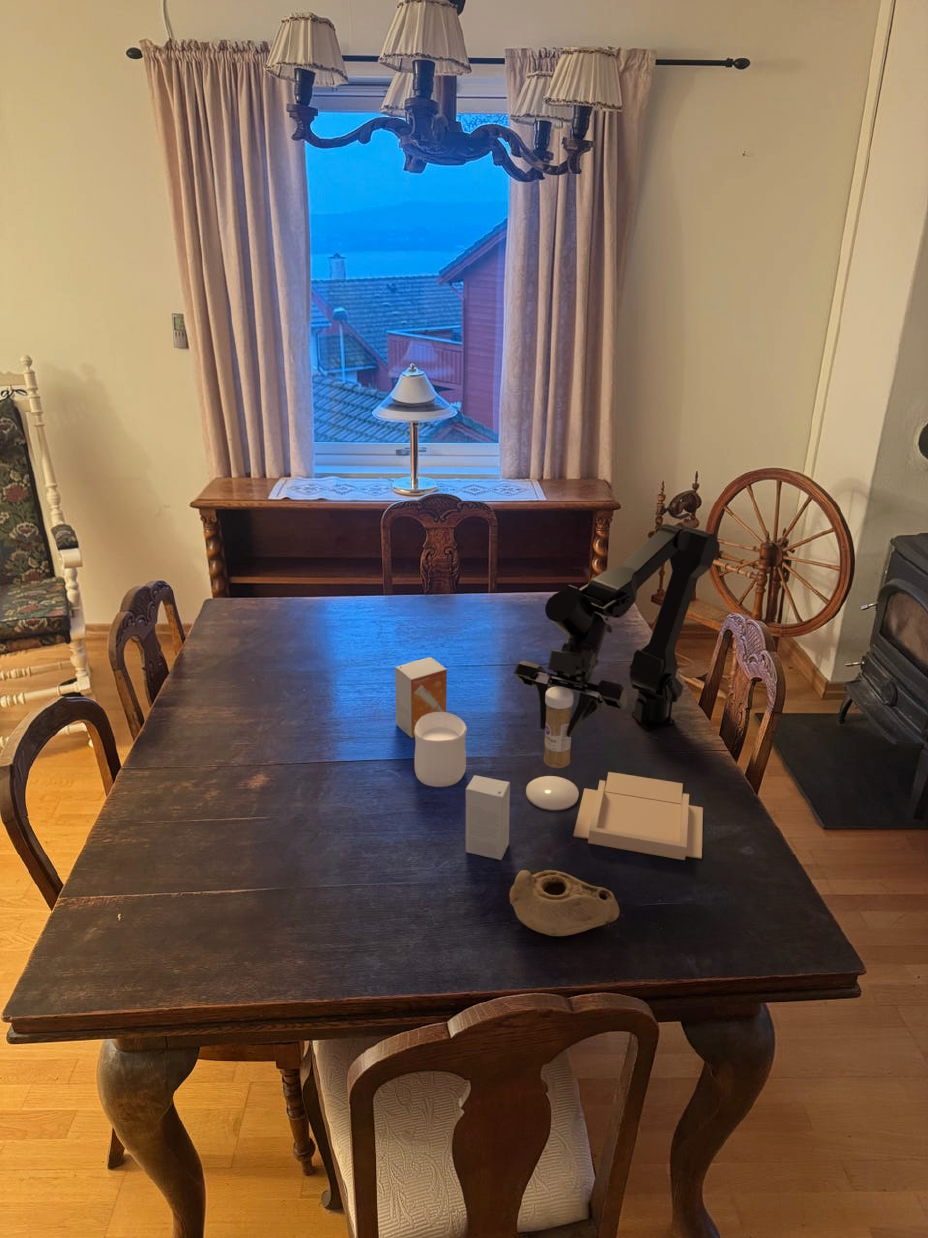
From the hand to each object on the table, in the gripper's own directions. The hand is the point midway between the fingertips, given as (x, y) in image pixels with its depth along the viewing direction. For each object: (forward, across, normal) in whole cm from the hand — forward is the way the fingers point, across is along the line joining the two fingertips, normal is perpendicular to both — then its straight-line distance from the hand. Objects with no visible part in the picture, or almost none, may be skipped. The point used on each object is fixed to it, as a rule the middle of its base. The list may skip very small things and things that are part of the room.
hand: (555, 732), depth 139 cm
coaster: (+8, 0, +10) cm, 13 cm away
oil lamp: (+27, +12, -9) cm, 31 cm away
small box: (+3, -32, +16) cm, 36 cm away
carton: (+7, +15, +12) cm, 20 cm away
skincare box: (+21, -4, -2) cm, 22 cm away
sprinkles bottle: (+4, 0, +6) cm, 7 cm away
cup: (+11, -21, +8) cm, 25 cm away
